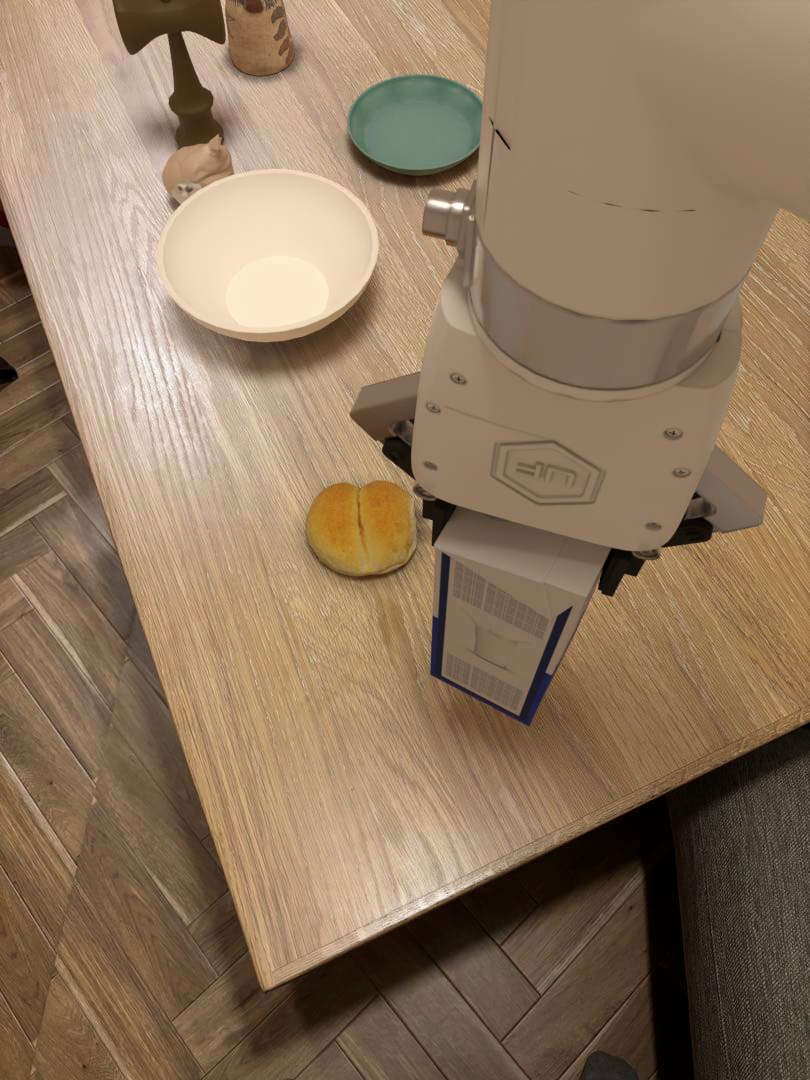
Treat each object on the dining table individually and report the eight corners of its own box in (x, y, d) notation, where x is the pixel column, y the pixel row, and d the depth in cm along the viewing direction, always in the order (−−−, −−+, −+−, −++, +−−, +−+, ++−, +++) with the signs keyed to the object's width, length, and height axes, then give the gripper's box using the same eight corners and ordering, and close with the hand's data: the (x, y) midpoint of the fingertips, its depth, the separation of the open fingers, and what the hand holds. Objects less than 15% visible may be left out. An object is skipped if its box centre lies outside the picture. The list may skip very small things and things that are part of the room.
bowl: (133, 300, 82) (111, 246, 76) (286, 196, 88) (277, 138, 82) (268, 420, 76) (256, 372, 70) (423, 299, 82) (424, 244, 76)
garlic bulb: (205, 233, 86) (187, 166, 79) (159, 205, 88) (137, 137, 81) (250, 195, 88) (236, 126, 81) (204, 169, 90) (186, 99, 83)
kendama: (250, 152, 91) (212, -48, 73) (158, 167, 90) (97, -32, 72) (241, 115, 94) (203, -87, 76) (152, 129, 93) (92, -72, 75)
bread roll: (307, 493, 73) (302, 468, 69) (414, 489, 73) (414, 464, 69) (306, 583, 69) (301, 561, 65) (418, 579, 69) (419, 557, 65)
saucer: (410, 77, 97) (410, 55, 94) (514, 135, 92) (517, 113, 90) (319, 146, 92) (317, 124, 89) (426, 211, 87) (426, 190, 85)
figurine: (294, 35, 100) (280, -77, 89) (294, 75, 97) (280, -37, 86) (232, 38, 100) (211, -75, 89) (230, 78, 97) (208, -34, 86)
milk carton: (527, 729, 52) (585, 597, 34) (428, 677, 53) (433, 524, 35) (576, 631, 54) (653, 461, 36) (480, 584, 56) (509, 399, 38)
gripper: (268, 290, 24) (325, 562, 40) (914, 449, 22) (702, 672, 37) (356, 118, 27) (377, 433, 43) (928, 238, 25) (727, 526, 41)
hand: (528, 542), depth 40 cm, fingers closed on milk carton, 7 cm apart
